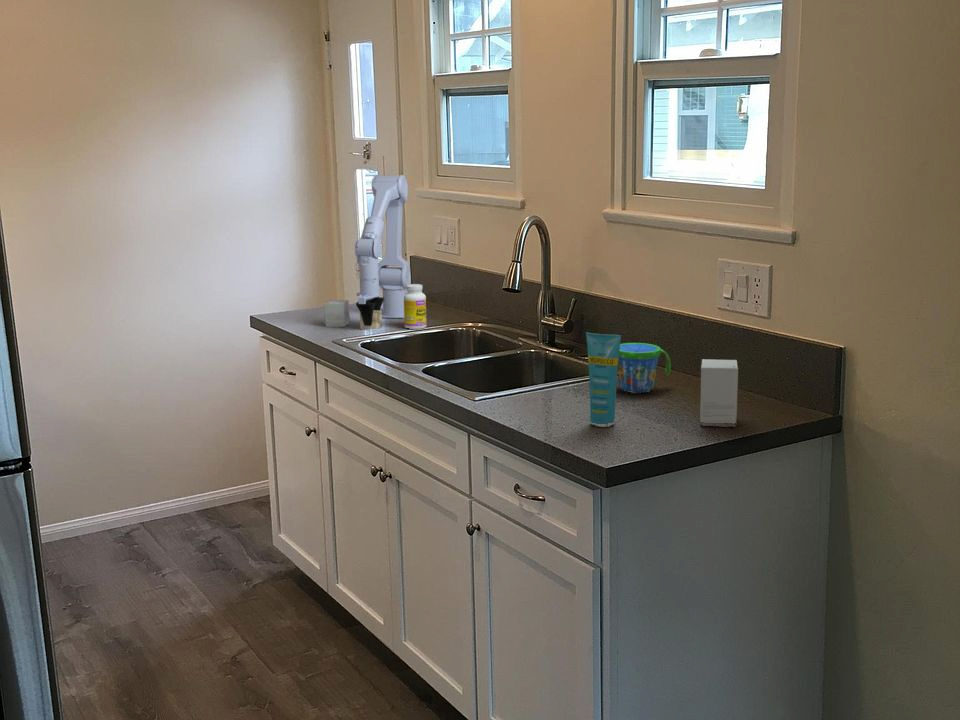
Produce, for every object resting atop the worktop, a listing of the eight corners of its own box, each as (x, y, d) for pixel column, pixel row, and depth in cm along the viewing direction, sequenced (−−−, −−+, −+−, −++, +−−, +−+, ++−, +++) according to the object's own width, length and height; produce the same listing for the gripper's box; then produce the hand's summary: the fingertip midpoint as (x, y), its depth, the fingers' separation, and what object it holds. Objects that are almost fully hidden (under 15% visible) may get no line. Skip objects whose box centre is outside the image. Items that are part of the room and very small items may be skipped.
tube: (582, 426, 216) (582, 334, 211) (588, 419, 220) (588, 329, 215) (617, 429, 213) (618, 337, 208) (623, 422, 217) (624, 332, 213)
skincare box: (350, 323, 323) (349, 299, 321) (344, 327, 317) (343, 303, 315) (331, 323, 324) (330, 299, 322) (325, 327, 318) (323, 303, 316)
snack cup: (665, 383, 247) (666, 341, 245) (675, 395, 237) (676, 351, 234) (599, 385, 246) (599, 343, 244) (606, 397, 236) (606, 353, 234)
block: (366, 326, 318) (365, 310, 317) (382, 326, 317) (381, 310, 316) (360, 329, 313) (359, 313, 312) (376, 330, 312) (375, 313, 311)
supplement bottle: (416, 330, 310) (415, 287, 307) (400, 328, 314) (398, 286, 311) (431, 326, 315) (430, 284, 312) (414, 324, 319) (413, 282, 316)
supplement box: (736, 418, 219) (738, 359, 216) (736, 428, 212) (738, 368, 209) (699, 416, 221) (701, 358, 218) (698, 427, 214) (700, 366, 211)
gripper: (365, 274, 319) (367, 318, 322) (347, 282, 306) (349, 328, 309) (387, 275, 318) (388, 319, 321) (370, 282, 304) (372, 328, 307)
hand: (371, 323), depth 315 cm, fingers closed on block, 5 cm apart
